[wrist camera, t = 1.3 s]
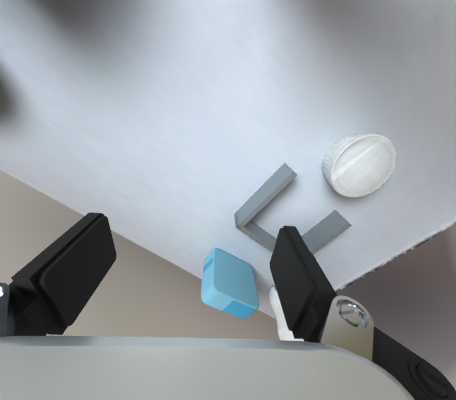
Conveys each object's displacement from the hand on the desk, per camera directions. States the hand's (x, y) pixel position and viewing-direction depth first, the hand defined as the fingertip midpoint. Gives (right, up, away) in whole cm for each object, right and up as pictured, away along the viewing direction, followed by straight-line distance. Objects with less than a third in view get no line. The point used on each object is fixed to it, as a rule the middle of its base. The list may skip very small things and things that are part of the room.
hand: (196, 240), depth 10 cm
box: (+15, 0, +31) cm, 34 cm away
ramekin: (+25, +10, +26) cm, 37 cm away
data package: (+2, -14, +37) cm, 40 cm away
